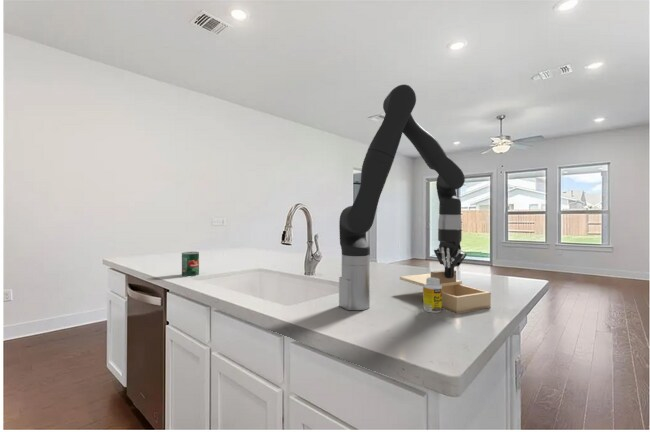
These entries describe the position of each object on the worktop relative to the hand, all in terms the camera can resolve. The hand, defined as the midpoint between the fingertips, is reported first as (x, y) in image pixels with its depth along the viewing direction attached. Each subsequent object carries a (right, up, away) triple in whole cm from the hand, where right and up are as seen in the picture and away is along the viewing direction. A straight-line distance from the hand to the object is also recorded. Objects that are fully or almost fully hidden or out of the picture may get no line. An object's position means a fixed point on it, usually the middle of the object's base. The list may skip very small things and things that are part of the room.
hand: (449, 278), depth 112 cm
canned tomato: (-109, -8, +47) cm, 119 cm away
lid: (-4, -3, +9) cm, 10 cm away
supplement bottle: (-9, -9, -9) cm, 15 cm away
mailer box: (+1, -9, -2) cm, 9 cm away
